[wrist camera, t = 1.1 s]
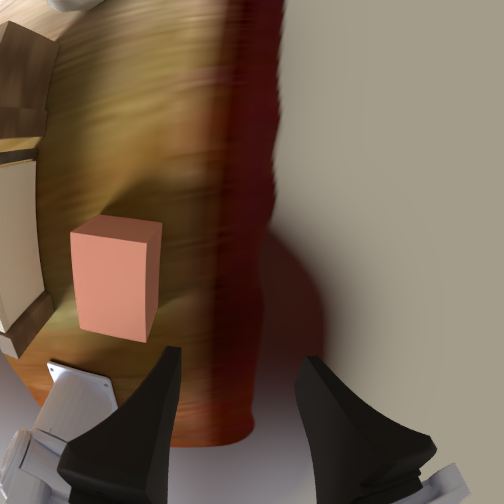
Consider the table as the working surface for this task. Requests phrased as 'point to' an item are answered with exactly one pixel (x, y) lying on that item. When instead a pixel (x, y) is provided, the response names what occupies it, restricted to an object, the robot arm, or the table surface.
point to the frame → (24, 126)
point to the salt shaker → (73, 5)
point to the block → (117, 275)
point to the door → (18, 242)
